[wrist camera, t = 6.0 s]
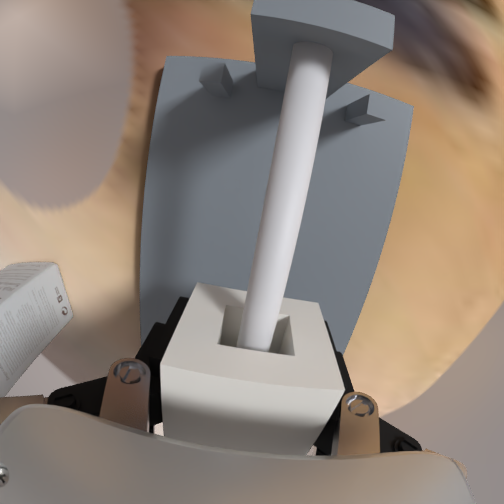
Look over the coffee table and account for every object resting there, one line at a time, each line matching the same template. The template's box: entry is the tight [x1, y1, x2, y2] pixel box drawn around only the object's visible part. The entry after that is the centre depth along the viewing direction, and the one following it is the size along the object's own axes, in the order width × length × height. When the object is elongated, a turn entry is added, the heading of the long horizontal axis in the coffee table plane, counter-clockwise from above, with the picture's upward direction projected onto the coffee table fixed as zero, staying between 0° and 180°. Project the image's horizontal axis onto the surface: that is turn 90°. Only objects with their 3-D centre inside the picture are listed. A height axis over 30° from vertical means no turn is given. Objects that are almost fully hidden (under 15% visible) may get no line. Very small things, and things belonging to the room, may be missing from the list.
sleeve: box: [160, 282, 345, 455], centre depth 9 cm, size 5×4×4 cm
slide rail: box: [140, 0, 414, 355], centre depth 11 cm, size 18×12×8 cm, turn 170°
